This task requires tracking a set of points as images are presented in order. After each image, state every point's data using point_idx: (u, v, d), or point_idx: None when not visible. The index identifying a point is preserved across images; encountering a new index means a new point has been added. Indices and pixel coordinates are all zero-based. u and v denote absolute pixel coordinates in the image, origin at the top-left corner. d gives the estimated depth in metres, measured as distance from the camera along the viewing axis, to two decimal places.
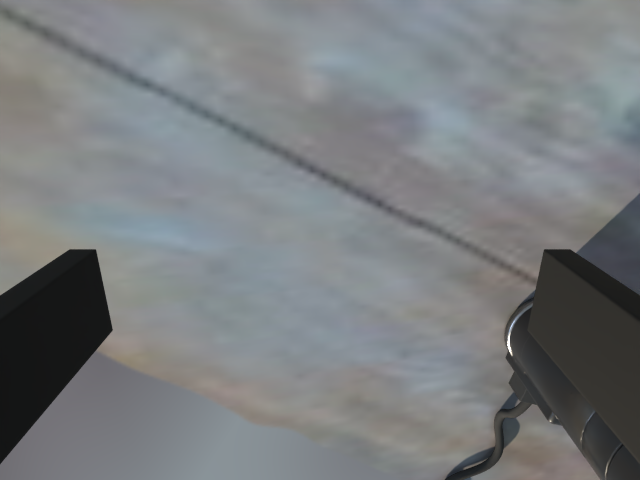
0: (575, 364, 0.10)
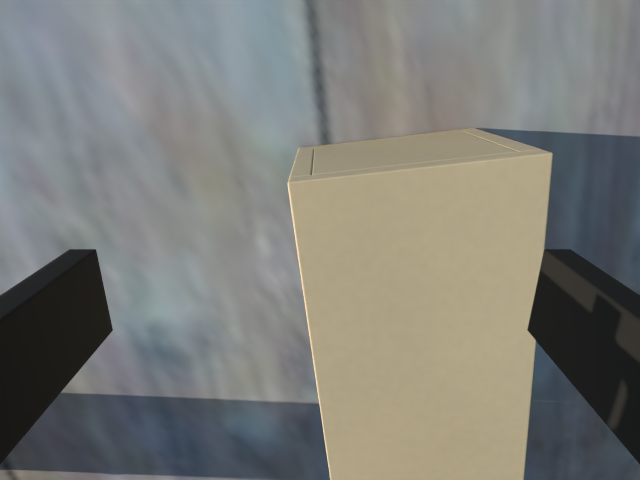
0: (575, 364, 0.10)
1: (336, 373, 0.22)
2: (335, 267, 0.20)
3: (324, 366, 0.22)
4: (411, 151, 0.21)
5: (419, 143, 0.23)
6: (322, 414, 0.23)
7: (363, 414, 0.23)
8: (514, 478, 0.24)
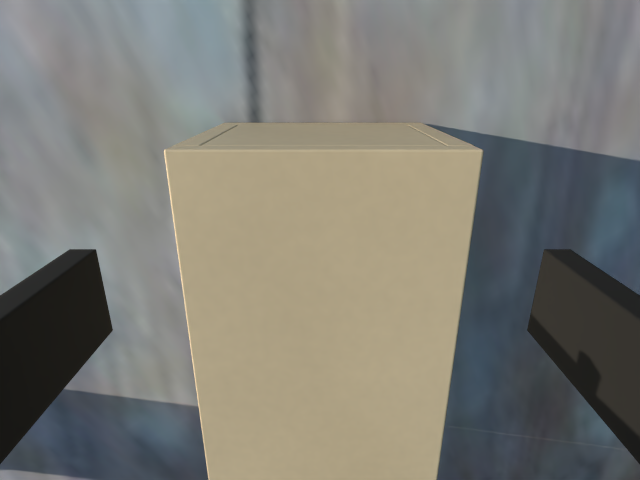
0: (575, 364, 0.10)
1: (219, 384, 0.18)
2: (220, 260, 0.16)
3: (205, 376, 0.18)
4: (334, 135, 0.18)
5: (351, 129, 0.20)
6: (203, 430, 0.19)
7: (251, 434, 0.20)
8: None
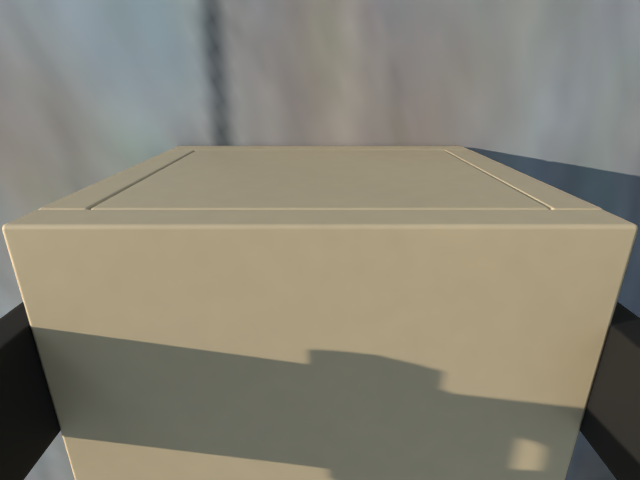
0: None
1: None
2: (133, 414, 0.09)
3: None
4: (338, 177, 0.11)
5: (364, 162, 0.13)
6: None
7: None
8: None
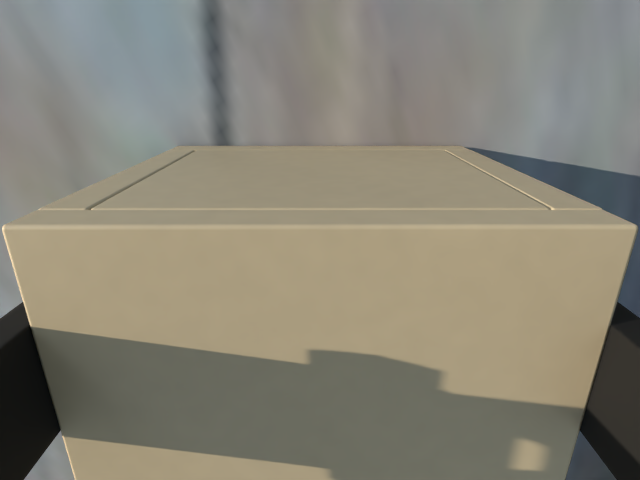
0: None
1: None
2: (133, 414, 0.09)
3: None
4: (339, 177, 0.11)
5: (364, 162, 0.13)
6: None
7: None
8: None
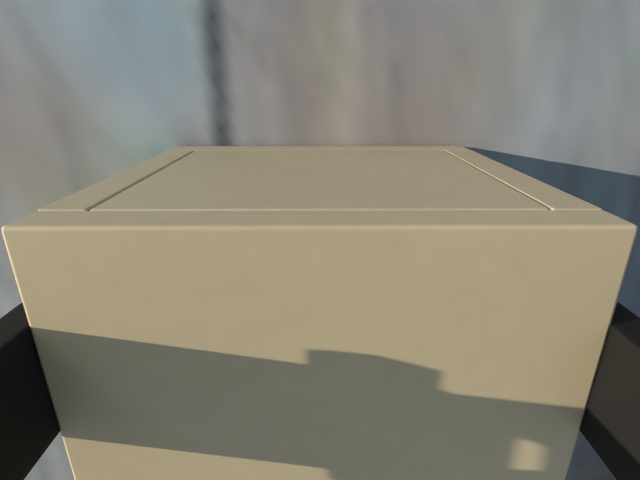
0: None
1: None
2: (132, 415, 0.09)
3: None
4: (338, 177, 0.11)
5: (363, 162, 0.13)
6: None
7: None
8: None
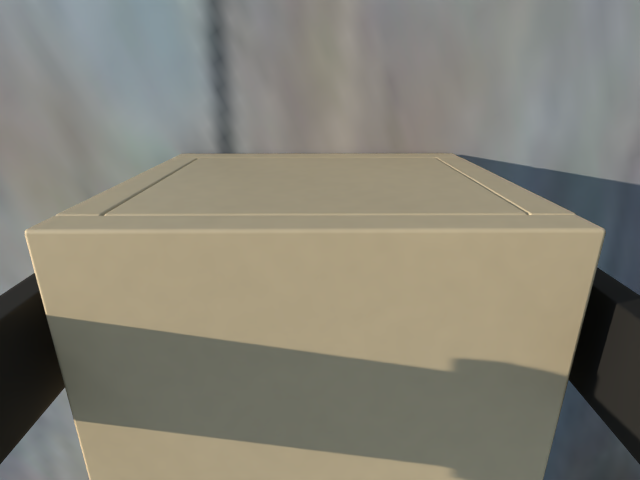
0: (575, 365, 0.10)
1: None
2: (141, 406, 0.10)
3: None
4: (334, 184, 0.12)
5: (358, 169, 0.14)
6: None
7: None
8: None
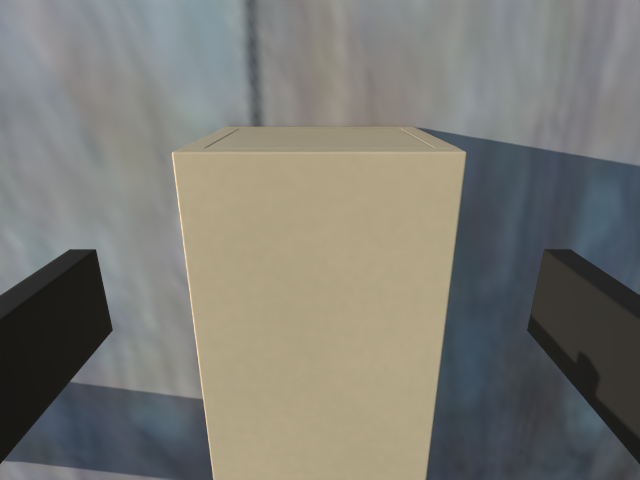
0: (576, 365, 0.10)
1: (222, 373, 0.20)
2: (224, 254, 0.17)
3: (209, 364, 0.19)
4: (330, 138, 0.20)
5: (346, 133, 0.22)
6: (206, 417, 0.21)
7: (252, 421, 0.21)
8: None
